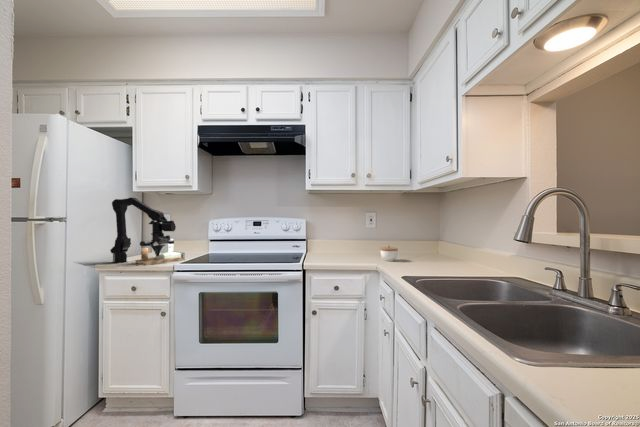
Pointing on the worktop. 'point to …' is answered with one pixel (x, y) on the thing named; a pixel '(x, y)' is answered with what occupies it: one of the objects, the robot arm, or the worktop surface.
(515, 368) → the worktop surface
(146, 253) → the dowel
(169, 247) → the supplement box
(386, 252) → the lidded jar
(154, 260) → the rail base
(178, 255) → the socket block
